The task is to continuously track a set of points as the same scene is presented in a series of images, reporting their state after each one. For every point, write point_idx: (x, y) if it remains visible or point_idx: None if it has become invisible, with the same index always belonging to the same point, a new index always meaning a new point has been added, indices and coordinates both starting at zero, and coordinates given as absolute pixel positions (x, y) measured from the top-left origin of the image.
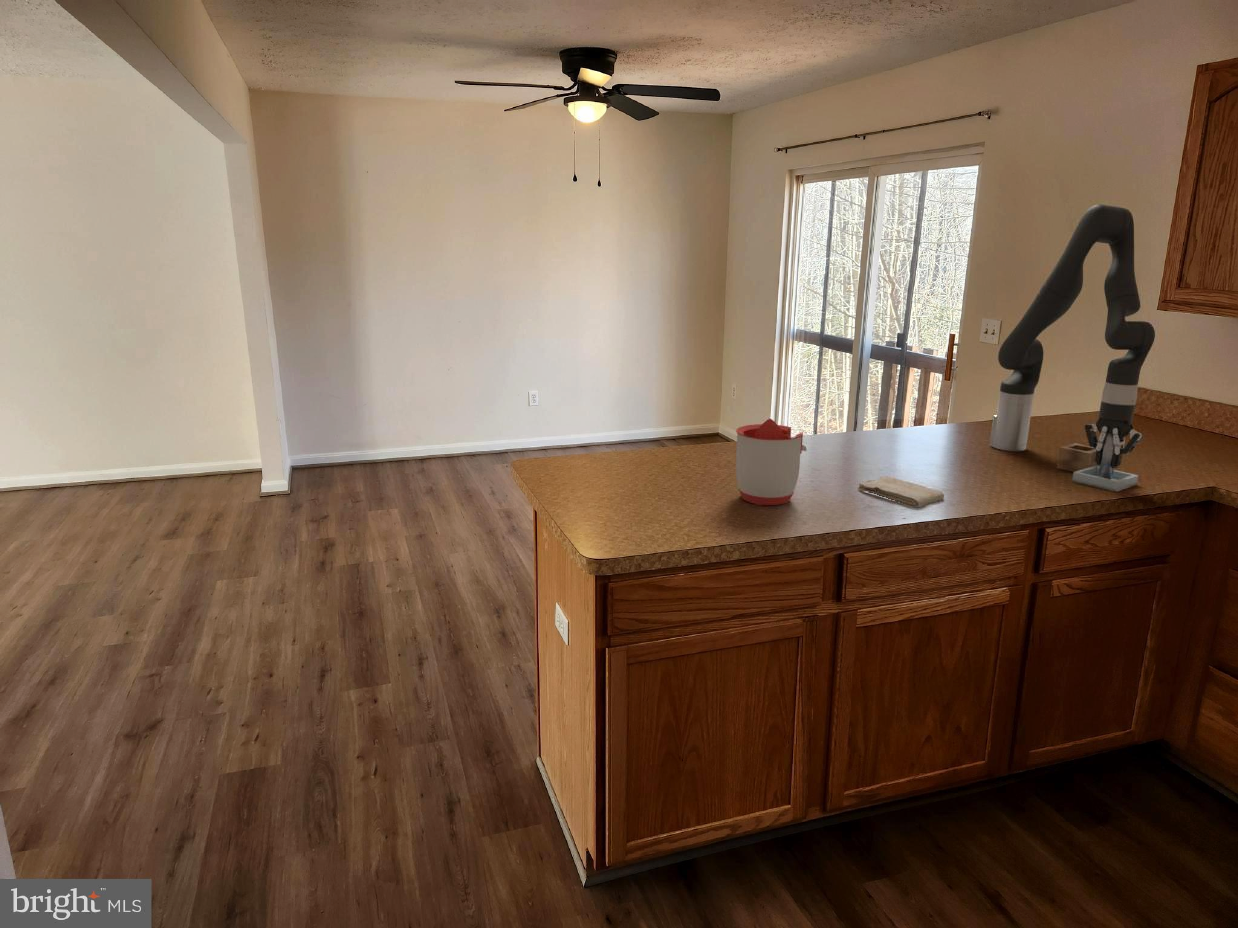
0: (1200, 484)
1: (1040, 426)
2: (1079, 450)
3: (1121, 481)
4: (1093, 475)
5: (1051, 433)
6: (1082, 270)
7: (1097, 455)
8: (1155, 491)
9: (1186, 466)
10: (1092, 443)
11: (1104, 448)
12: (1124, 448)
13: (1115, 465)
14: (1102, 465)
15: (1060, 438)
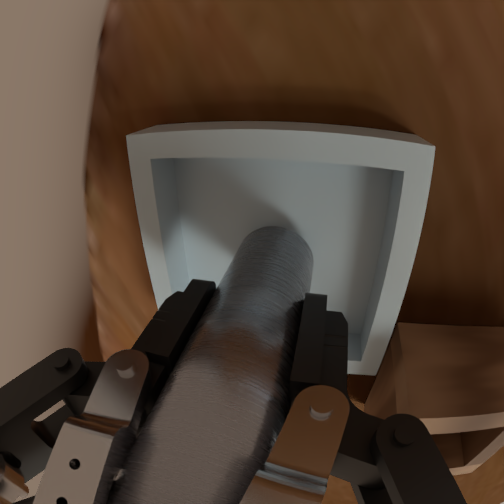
0: None
1: (486, 501)
2: (463, 424)
3: (133, 178)
4: (359, 306)
5: (477, 496)
6: None
7: (330, 355)
8: (104, 272)
9: None
10: (397, 452)
11: (245, 407)
12: (54, 386)
13: (184, 295)
14: (272, 277)
15: (466, 493)
